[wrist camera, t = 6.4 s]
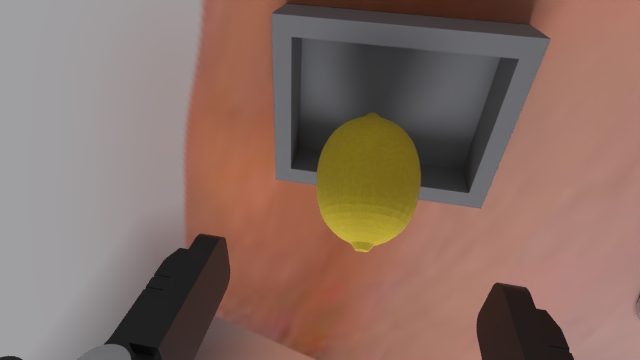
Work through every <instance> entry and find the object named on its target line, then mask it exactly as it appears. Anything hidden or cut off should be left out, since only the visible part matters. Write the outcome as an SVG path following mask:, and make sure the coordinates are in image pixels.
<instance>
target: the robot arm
mask: <svg viewBox="0 0 640 360" xmlns="http://www.w3.org/2000/svg"><path fill="white" fill-rule="evenodd" d="M229 279H230V264H229V257H228V250H227V243H226V239H225V238H224V237H219V236H213V235H206V234H199V235H198V236H197V237H196V238H195V240H194V241H193V243H192V244H191V246H190V248H189V249H183V248H179V249H178V250H177V251H175V252H174V253H173V254H171V255H170V256H169V257H167V258H166V259H165V260H164V261H163V263H162V264H161V265H160V267H159V268H158V270H157V271H156V273H155V275H154V277H152V278H151V280H150V281H149V283H148V284H147V286H146V289H145V290H143V291H142V293H141V294H140V296H139V297H138V298H137V300H136V301H135V303H134V304H133V306H132V307H131V309H130V310H129V311H128V313H127V314H126V316H125V317H124V319H123V320H122V322H121V323H120V324H119V326H118V327H117V329H116V330H115V331H114V333H113V334H112V336H111V337H110V338H109V340H108V341H107V342H106V343H105V344H104V345H101V346H98V347H95V348H93V349H91V350H89V351H88V352H86V353H84V354H83V355H82V356H80V357H79V358H78V359H77V360H194V358H195V356H196V354H197V352H198V349H199V347H200V345H201V343H202V341H203V338H204V336H205V334H206V332H207V330H208V328H209V326H210V324H211V321H212V319H213V317H214V315H215V313H216V311H217V309H218V306H219V304H220V302H221V300H222V298H223V296H224V294H225V291H226V289H227V286H228V283H229ZM636 309H637V315H638V317H639V319H640V298H639V300H638V303H637V306H636ZM477 337H478V342H479V346H480V351H481V356H482V360H574V358H573V356H572V354H571V353H570V352H569V347H568V344H567V342H566V339H565V337H564V335H563V332H562V330H561V328H560V327H559V326H558V325H557V323H556V322H555V321H554V320H553V319H552V317H551V316H550V315H549V314H548V313H547V311H546V310H541V309H536V307H535V305H534V302H533V299H532V297H531V294H530V292H529V290H528V289H527V288H526V287H521V286H515V285H509V284H503V283H495V284H494V285H493V287H492V289H491V291H490V293H489V295H488V297H487V299H486V300H485V302H484V304H483V306H482V308H481V310H480V312H479V314H478V318H477ZM0 360H22V359H20V358H18V357H15V356H6V357H1V358H0Z"/></svg>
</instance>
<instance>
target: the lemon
mask: <svg viewBox="0 0 640 360" xmlns="http://www.w3.org/2000/svg"><path fill="white" fill-rule="evenodd" d="M420 185H421V169H420V162H419V158H418V154H417V151H416V148H415V145H414V143H413V141H412V140H411V138H410V137H409V136H408V134H407V133H406V132H405V131H404V130H403V129H402V128H401V127H400V126H398V125H397V124H395V123H394V122H392V121H390V120H387V119H384V118H381V117H380V116H379V115H378V114H377V113H368V114H367V115H365V116H364V117H359V118H356V119H353V120H350V121H348V122H346V123H344V124H343V125H341V126H340V127H339V128H337V129H336V130H335V131H334V132H333V133H332V135H331V136H330V137H329V139H328V140H327V142H326V144H325V145H324V148H323V150H322V152H321V155H320V158H319V163H318V168H317V198H318V204H319V209H320V212H321V215H322V217H323V219H324V221H325V222H326V224H327V225H328V226H329V227H330V229H331V230H332V231H333V232H334V233H335V234H336V235H337V236H339V237H340V238H342V239H343V240H345V241H347V242H349V243H351V244H352V246H353V247H354V249H355V250H356V251H360V252H368V251H369V250H370V249H371V248H372V247H373V246H375V245H379V244H382V243H385V242H387V241H389V240H391V239H392V238H394V237H395V236H397V235H398V234H399V233H400V232H401V231H402V230H403V229H404V228H405V227H406V226H407V224H408V223H409V221H410V219H411V217H412V215H413V213H414V210H415V207H416V204H417V201H418V196H419V192H420Z"/></svg>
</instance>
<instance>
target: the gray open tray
mask: <svg viewBox="0 0 640 360" xmlns="http://www.w3.org/2000/svg"><path fill="white" fill-rule="evenodd" d="M549 42H550V38H549V37H547V36H546V35H544V34H543V33H541V32H540V31H538V30H537V29H535V28H534V27H532V26H531V25H526V24H515V23H503V22H492V21H480V20H469V19H457V18H446V17H435V16H423V15H412V14H400V13H389V12H378V11H366V10H355V9H343V8H332V7H320V6H309V5H298V4H285V5H283V6H282V7H281V8H279V9H278V10H276V11H275V12H273V13H272V48H273V88H274V128H275V167H276V179H277V180H284V181H291V182H298V183H305V184H312V185H317V168H318V163H319V158H320V155H321V152H322V150H323V148H324V145H325V144H326V142H327V140H328V139H329V137H330V136H331V135H332V133H333V132H334V131H335V130H336V129H337V128H339V127H340V126H341V125H343V124H344V123H346V122H348V121H350V120H353V119H356V118H359V117H364V116H365V115H367V114H368V113H377V114H378V115H379V116H380V117H381V118H384V119H387V120H390V121H392V122H394V123H395V124H397V125H398V126H400V127H401V128H402V129H403V130H404V131H405V132H406V133H407V134H408V136H409V137H410V138H411V140H412V141H413V143H414V145H415V148H416V151H417V154H418V158H419V162H420V169H421V185H420V192H419V196H418V200H425V201H432V202H439V203H446V204H453V205H460V206H467V207H474V208H481V207H482V205H483V202H484V200H485V198H486V195H487V193H488V190H489V188H490V185H491V183H492V180H493V178H494V176H495V173H496V171H497V168H498V166H499V163H500V161H501V159H502V156H503V154H504V151H505V149H506V146H507V144H508V142H509V139H510V137H511V134H512V132H513V129H514V127H515V125H516V122H517V120H518V117H519V115H520V112H521V110H522V107H523V105H524V103H525V100H526V98H527V95H528V93H529V90H530V88H531V86H532V83H533V81H534V78H535V76H536V73H537V71H538V69H539V66H540V64H541V61H542V59H543V56H544V54H545V52H546V49H547V47H548V44H549Z"/></svg>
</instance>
